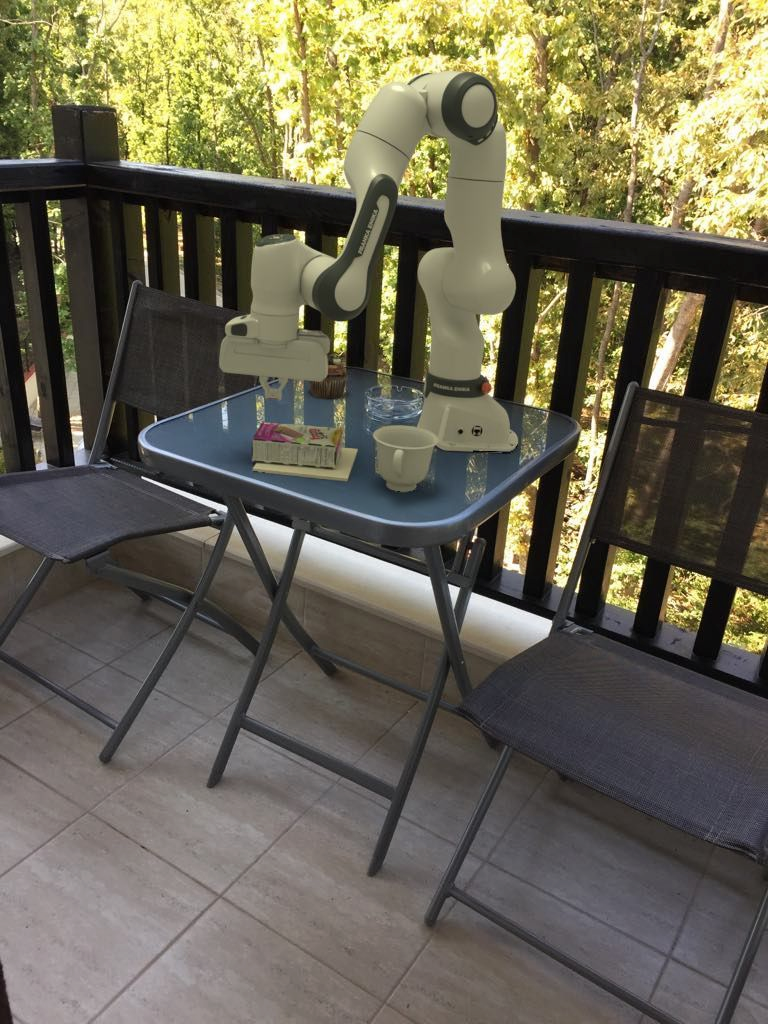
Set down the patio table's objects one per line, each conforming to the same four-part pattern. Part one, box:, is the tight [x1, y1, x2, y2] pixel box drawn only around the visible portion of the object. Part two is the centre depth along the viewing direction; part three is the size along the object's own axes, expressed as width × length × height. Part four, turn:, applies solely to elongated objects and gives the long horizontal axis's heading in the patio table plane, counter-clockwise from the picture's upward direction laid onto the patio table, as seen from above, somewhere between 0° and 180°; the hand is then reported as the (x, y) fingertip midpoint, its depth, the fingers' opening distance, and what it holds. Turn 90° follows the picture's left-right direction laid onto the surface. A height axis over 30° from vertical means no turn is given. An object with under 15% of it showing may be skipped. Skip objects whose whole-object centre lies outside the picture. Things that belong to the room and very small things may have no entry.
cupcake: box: [308, 352, 348, 400], centre depth 208 cm, size 10×10×10 cm
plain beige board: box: [252, 446, 358, 482], centre depth 169 cm, size 18×16×1 cm
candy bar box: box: [251, 421, 343, 469], centre depth 168 cm, size 11×5×16 cm
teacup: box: [372, 424, 439, 493], centre depth 158 cm, size 12×15×10 cm
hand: (273, 398), depth 164 cm, fingers closed
